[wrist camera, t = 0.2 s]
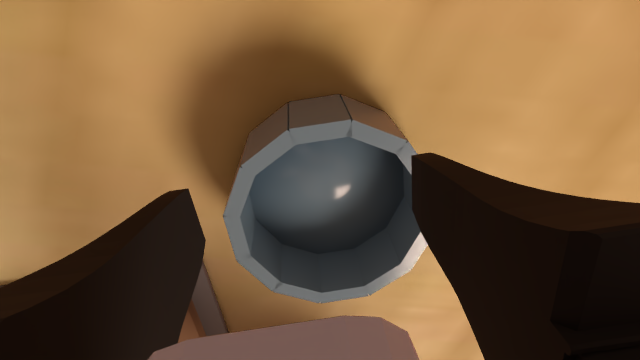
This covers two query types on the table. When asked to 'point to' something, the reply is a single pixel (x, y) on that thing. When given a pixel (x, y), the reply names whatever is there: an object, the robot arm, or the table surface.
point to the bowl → (325, 201)
